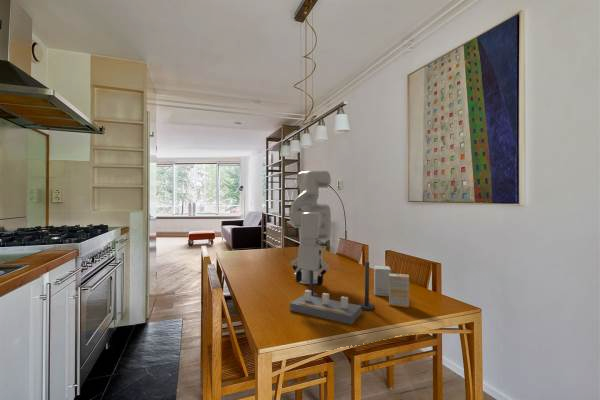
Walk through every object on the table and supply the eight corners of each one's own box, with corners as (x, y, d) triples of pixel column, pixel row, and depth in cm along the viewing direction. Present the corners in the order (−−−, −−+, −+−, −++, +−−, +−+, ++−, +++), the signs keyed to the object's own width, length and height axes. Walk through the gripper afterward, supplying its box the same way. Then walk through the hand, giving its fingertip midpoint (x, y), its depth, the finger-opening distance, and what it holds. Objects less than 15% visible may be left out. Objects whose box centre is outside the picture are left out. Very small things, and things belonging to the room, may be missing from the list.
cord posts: (302, 297, 135) (302, 256, 135) (308, 294, 140) (309, 254, 140) (371, 311, 119) (372, 264, 119) (375, 306, 124) (376, 261, 124)
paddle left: (304, 300, 122) (304, 290, 122) (306, 299, 123) (306, 289, 123) (309, 301, 121) (309, 291, 121) (311, 300, 122) (311, 290, 122)
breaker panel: (290, 310, 119) (290, 302, 119) (304, 301, 130) (304, 294, 130) (351, 324, 107) (351, 315, 107) (361, 313, 117) (361, 305, 117)
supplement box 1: (390, 296, 138) (391, 269, 137) (374, 295, 139) (374, 268, 139) (389, 291, 145) (389, 266, 145) (373, 290, 146) (374, 265, 146)
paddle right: (340, 307, 114) (340, 297, 114) (342, 306, 116) (342, 296, 116) (346, 308, 113) (346, 298, 113) (348, 307, 114) (348, 297, 114)
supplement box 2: (408, 304, 127) (409, 274, 127) (409, 308, 123) (409, 277, 123) (388, 302, 130) (389, 272, 130) (388, 305, 126) (388, 275, 126)
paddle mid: (321, 303, 118) (322, 294, 118) (323, 302, 119) (323, 292, 119) (327, 305, 117) (327, 295, 117) (329, 303, 118) (329, 293, 118)
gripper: (332, 242, 121) (332, 284, 121) (296, 239, 129) (295, 278, 129) (324, 245, 114) (324, 289, 114) (287, 241, 123) (286, 282, 123)
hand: (309, 283), depth 122 cm, fingers open, 9 cm apart
